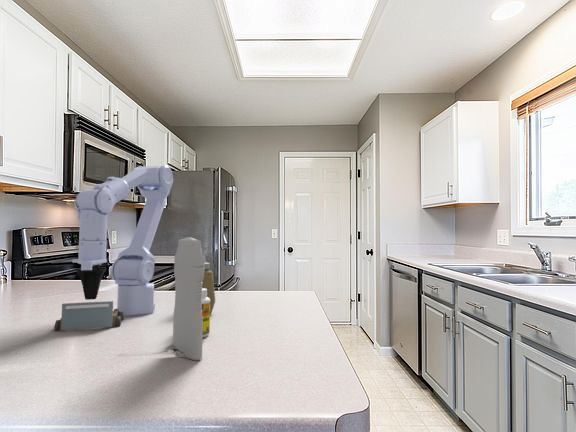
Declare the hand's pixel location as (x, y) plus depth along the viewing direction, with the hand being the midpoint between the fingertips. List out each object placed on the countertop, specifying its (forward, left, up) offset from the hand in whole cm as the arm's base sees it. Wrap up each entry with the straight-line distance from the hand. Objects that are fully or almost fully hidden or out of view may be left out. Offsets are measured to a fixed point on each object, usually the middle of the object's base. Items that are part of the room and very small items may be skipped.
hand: (90, 299), depth 84 cm
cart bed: (0, -1, -7) cm, 7 cm away
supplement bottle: (-23, +11, -8) cm, 27 cm away
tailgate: (0, +3, -6) cm, 7 cm away
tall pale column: (-20, +23, -8) cm, 32 cm away
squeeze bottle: (-26, -10, -8) cm, 29 cm away
